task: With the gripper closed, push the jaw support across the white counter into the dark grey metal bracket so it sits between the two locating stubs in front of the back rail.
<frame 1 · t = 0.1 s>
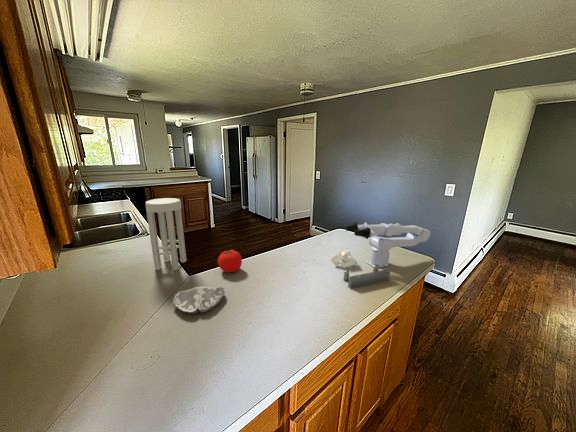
hand: (350, 230, 120), 22 cm above the countertop, tool horizontal, fingers open, 7 cm apart
housing bracket: (358, 275, 120), on the countertop
stool: (171, 265, 128), on the countertop
tomato: (230, 271, 122), on the countertop
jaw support: (344, 265, 131), on the countertop
brain slice: (200, 304, 96), on the countertop
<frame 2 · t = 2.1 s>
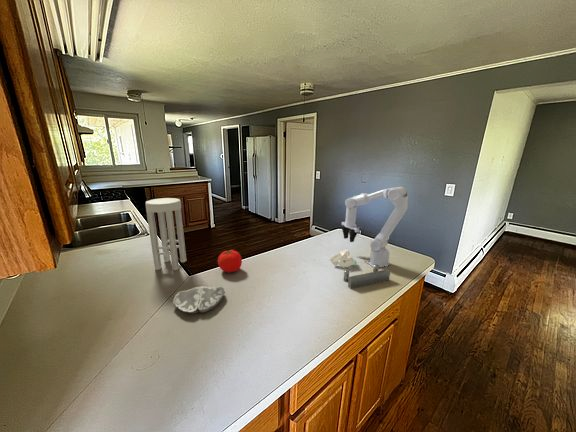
hand: (348, 240, 141), 9 cm above the countertop, tool pointing down, fingers open, 5 cm apart
nothing on the countertop moved.
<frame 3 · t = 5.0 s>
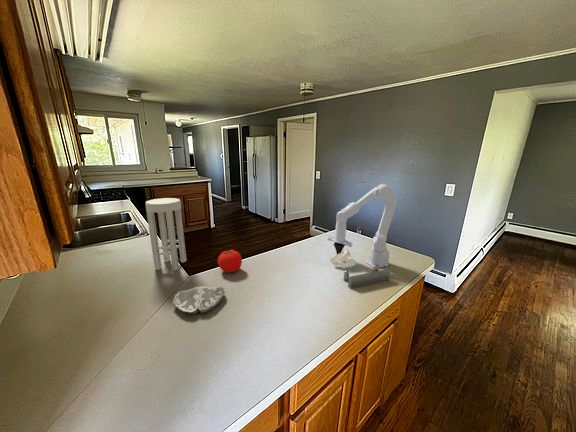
hand: (338, 255, 136), 3 cm above the countertop, tool pointing down, fingers closed
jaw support: (344, 266, 130), on the countertop, touching gripper
everything else where it was.
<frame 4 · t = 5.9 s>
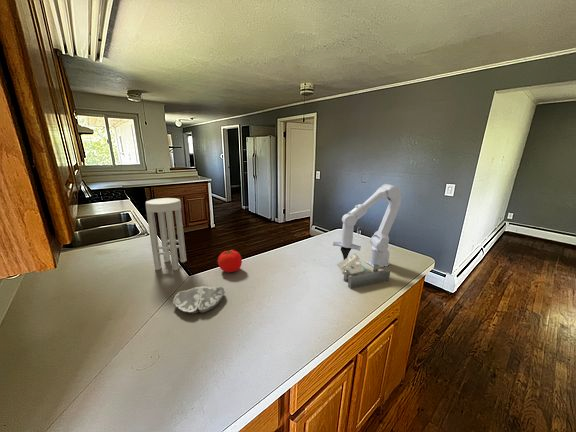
hand: (345, 259, 130), 3 cm above the countertop, tool pointing down, fingers closed
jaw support: (352, 271, 124), on the countertop, touching gripper
everything else where it was.
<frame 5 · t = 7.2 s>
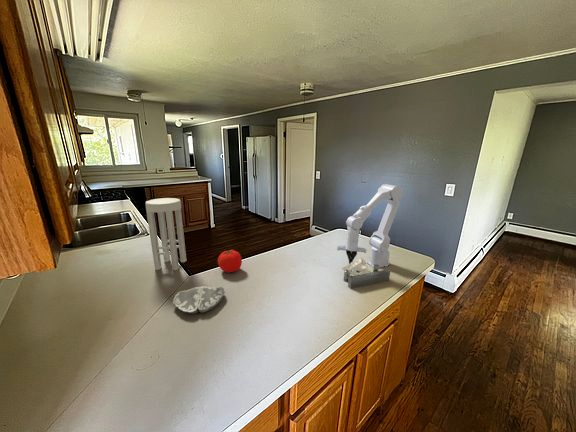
hand: (350, 263, 126), 3 cm above the countertop, tool pointing down, fingers closed
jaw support: (358, 275, 120), on the countertop
everything else where it was.
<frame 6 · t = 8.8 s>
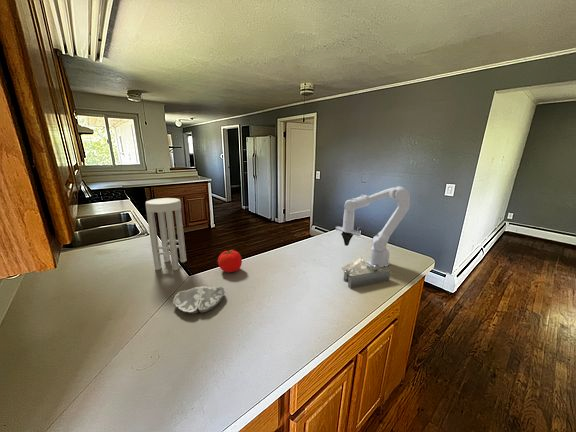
hand: (346, 245, 133), 9 cm above the countertop, tool pointing down, fingers closed
nothing on the countertop moved.
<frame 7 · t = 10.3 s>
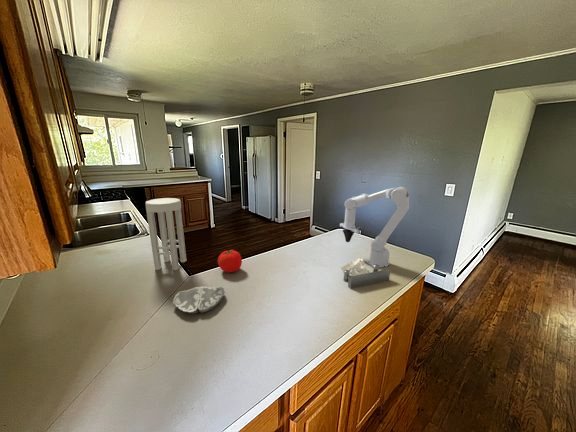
hand: (347, 241, 139), 9 cm above the countertop, tool pointing down, fingers closed
nothing on the countertop moved.
at the end: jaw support inside the target area (1.0 cm from its centre), on the countertop; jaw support tilted 0° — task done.
